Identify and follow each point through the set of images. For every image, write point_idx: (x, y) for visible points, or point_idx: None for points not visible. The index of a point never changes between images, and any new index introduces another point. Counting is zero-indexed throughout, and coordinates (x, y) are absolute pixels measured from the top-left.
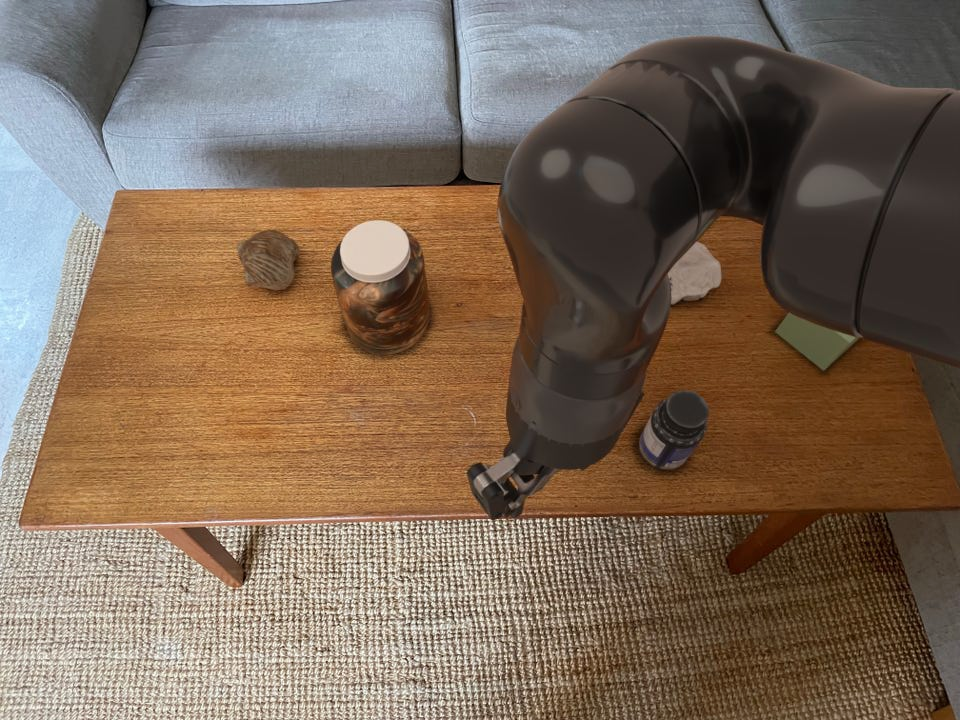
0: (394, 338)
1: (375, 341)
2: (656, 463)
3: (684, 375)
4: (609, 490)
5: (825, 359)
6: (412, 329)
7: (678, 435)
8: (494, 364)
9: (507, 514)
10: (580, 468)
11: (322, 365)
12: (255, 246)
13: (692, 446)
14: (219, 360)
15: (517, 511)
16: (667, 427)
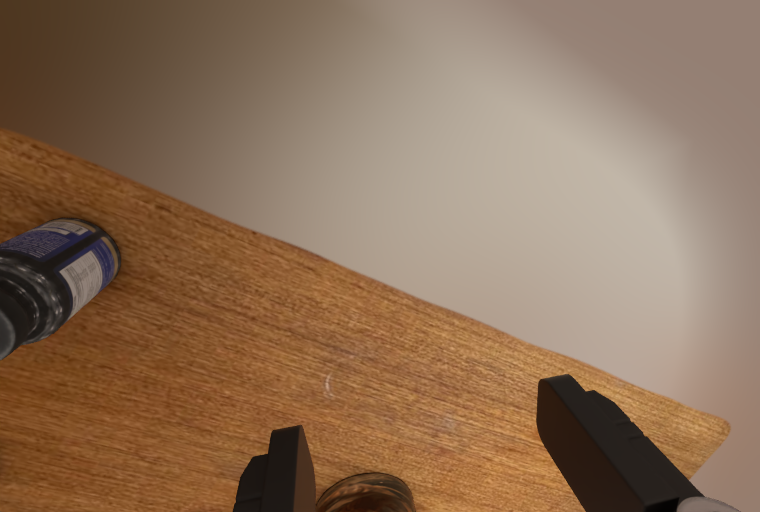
0: (379, 505)
1: (400, 505)
2: (99, 239)
3: None
4: (195, 231)
5: None
6: (353, 509)
7: (19, 282)
8: (270, 431)
9: (613, 412)
10: (302, 431)
11: (453, 480)
12: None
13: (3, 250)
14: (537, 508)
15: (612, 428)
16: (35, 303)
